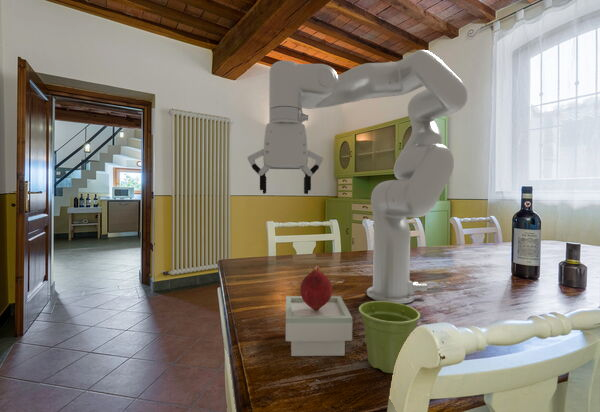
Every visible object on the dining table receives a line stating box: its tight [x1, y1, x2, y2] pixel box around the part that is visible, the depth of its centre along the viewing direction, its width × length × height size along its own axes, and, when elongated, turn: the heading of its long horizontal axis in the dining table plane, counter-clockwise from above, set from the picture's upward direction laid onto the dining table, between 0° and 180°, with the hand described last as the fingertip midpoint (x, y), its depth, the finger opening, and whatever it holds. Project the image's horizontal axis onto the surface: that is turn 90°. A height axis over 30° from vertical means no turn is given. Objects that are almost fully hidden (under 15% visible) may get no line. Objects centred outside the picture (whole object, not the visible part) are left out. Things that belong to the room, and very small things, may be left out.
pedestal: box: [285, 295, 353, 357], centre depth 55 cm, size 11×11×7 cm
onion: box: [299, 265, 333, 310], centre depth 55 cm, size 6×6×8 cm
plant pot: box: [358, 300, 421, 374], centre depth 48 cm, size 9×9×9 cm
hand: (285, 193), depth 70 cm, fingers open, 9 cm apart
